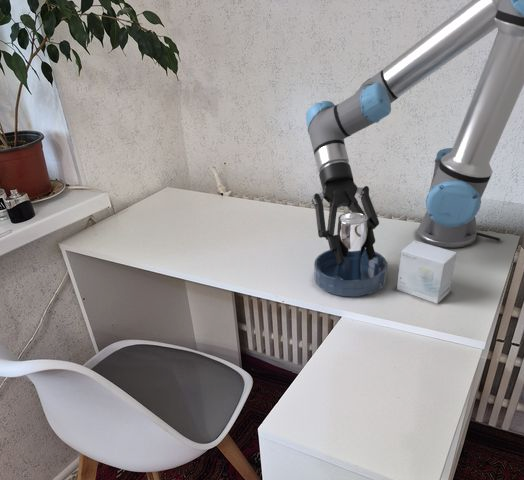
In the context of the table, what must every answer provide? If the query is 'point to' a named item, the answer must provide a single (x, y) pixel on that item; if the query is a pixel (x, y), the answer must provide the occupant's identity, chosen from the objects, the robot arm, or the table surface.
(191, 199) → the table surface
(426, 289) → the cosmetics box
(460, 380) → the table surface
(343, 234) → the beer glass
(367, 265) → the bowl
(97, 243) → the table surface
